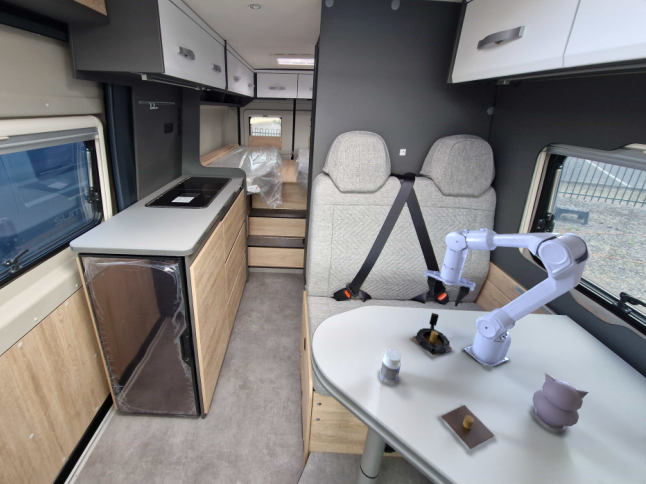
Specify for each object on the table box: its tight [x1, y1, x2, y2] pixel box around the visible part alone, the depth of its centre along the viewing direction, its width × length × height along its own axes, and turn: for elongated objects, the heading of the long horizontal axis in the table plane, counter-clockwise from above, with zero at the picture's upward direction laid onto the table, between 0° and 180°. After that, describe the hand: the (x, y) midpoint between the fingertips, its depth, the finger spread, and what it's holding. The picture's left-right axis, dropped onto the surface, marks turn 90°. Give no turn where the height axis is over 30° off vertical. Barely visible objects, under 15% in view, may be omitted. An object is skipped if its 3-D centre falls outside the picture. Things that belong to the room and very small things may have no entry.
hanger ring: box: [415, 312, 451, 355], centre depth 96 cm, size 12×9×6 cm
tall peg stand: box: [411, 331, 452, 356], centre depth 96 cm, size 8×8×5 cm
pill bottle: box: [379, 348, 402, 383], centre depth 83 cm, size 5×5×8 cm
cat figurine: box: [532, 372, 589, 435], centre depth 73 cm, size 8×8×12 cm
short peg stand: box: [440, 404, 496, 450], centre depth 71 cm, size 8×8×4 cm
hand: (443, 300), depth 103 cm, fingers open, 7 cm apart
